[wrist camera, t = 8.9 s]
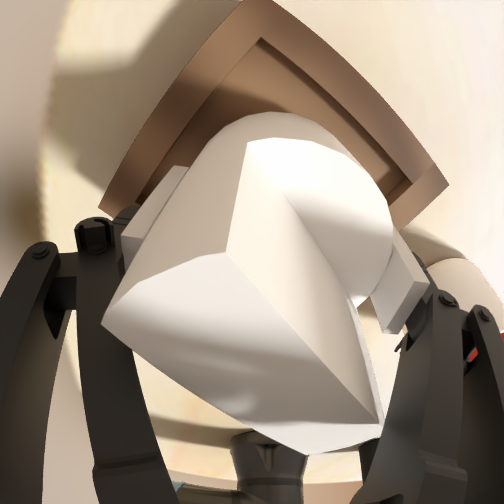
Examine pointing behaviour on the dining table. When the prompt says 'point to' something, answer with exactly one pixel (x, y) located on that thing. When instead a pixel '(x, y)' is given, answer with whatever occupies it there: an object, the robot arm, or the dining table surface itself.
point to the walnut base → (275, 110)
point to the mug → (367, 456)
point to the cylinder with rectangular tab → (265, 283)
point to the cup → (467, 289)
